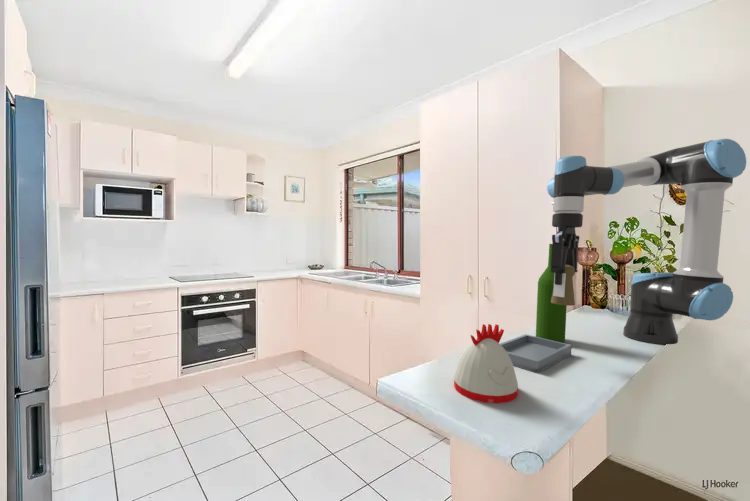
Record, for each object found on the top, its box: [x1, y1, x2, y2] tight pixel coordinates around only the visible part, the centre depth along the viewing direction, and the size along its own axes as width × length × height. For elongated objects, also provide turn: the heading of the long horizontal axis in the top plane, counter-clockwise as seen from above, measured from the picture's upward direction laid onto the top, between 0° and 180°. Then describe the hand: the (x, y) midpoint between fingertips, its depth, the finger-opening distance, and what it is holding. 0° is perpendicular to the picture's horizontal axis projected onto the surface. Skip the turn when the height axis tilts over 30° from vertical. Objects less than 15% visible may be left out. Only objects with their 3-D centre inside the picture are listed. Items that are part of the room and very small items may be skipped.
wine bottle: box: [535, 243, 568, 343], centre depth 120 cm, size 9×9×32 cm
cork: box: [551, 265, 576, 307], centre depth 101 cm, size 6×6×11 cm
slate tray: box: [499, 334, 573, 374], centre depth 104 cm, size 22×14×3 cm, turn 131°
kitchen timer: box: [453, 323, 519, 404], centre depth 81 cm, size 14×14×15 cm
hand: (562, 295), depth 101 cm, fingers closed on cork, 5 cm apart
